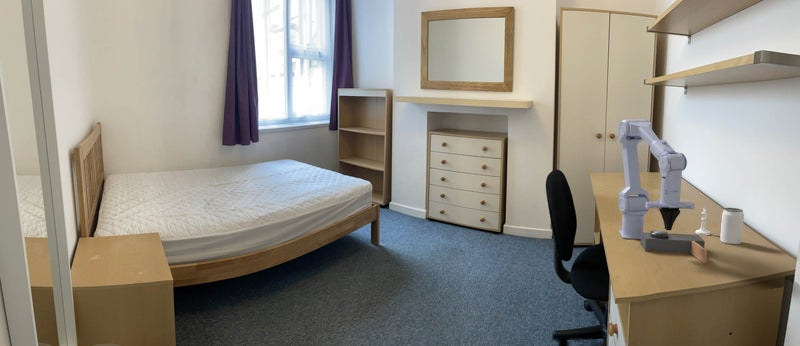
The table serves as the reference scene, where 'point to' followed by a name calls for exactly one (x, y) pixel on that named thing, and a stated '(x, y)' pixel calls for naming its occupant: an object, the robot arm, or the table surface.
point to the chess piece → (703, 225)
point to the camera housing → (669, 242)
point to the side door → (699, 252)
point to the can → (732, 226)
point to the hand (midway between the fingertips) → (667, 229)
